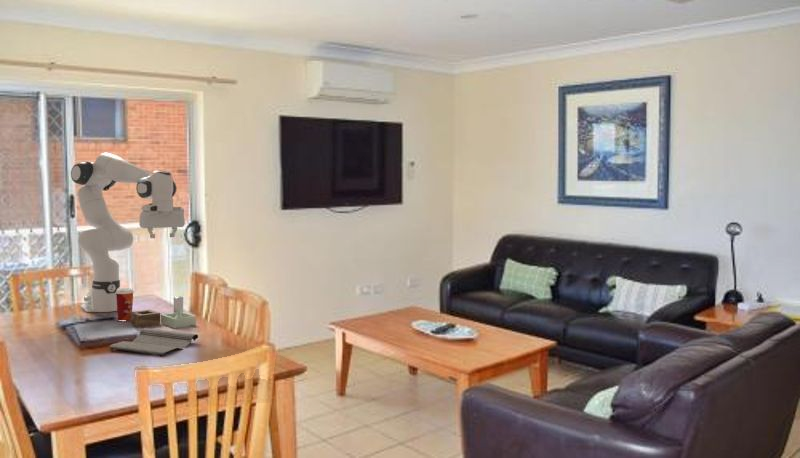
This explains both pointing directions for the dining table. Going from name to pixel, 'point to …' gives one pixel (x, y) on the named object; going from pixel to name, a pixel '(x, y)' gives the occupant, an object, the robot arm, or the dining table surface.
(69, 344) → the dining table surface
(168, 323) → the tray
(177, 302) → the steel pin
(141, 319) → the socket block
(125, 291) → the paper cup
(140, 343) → the mat
